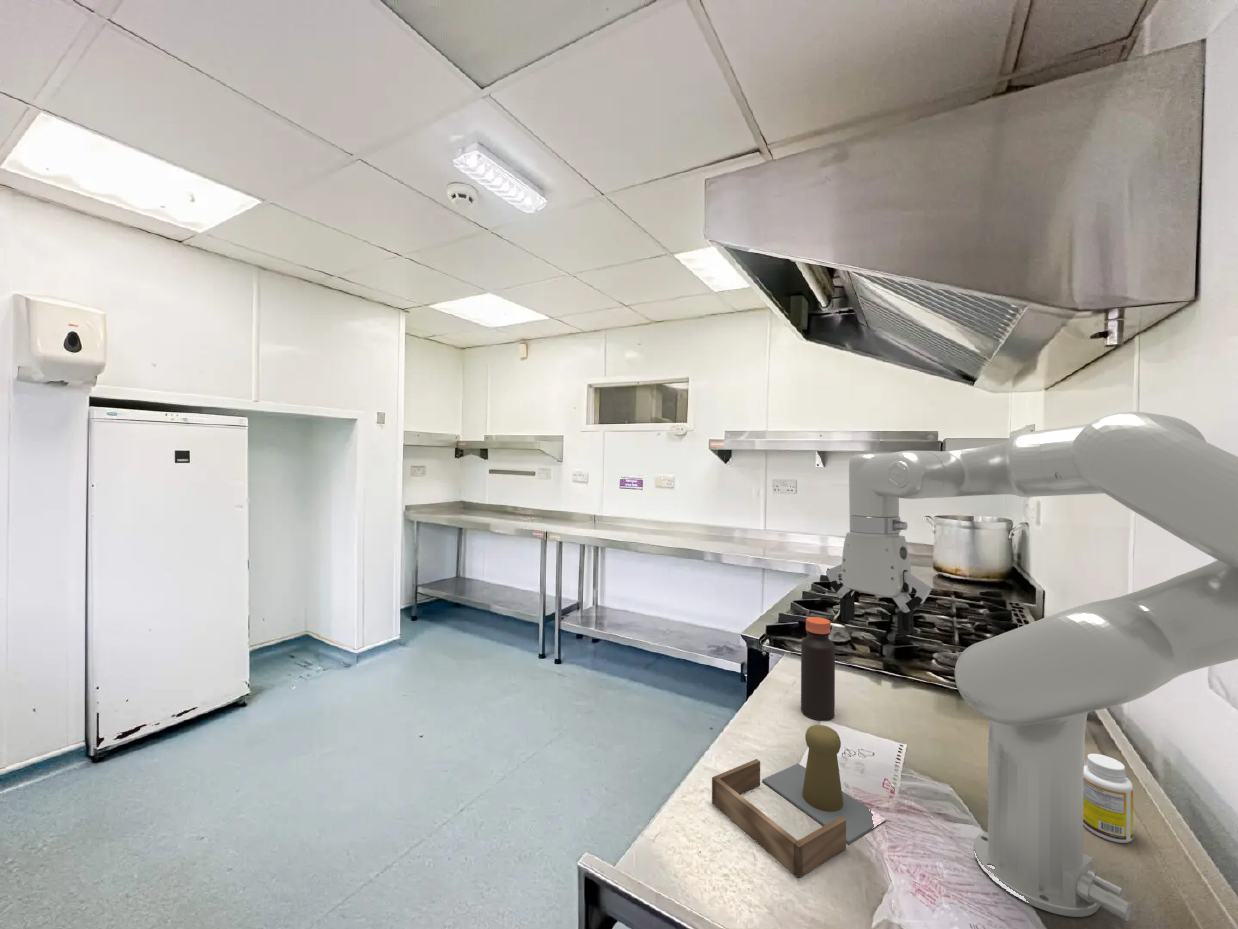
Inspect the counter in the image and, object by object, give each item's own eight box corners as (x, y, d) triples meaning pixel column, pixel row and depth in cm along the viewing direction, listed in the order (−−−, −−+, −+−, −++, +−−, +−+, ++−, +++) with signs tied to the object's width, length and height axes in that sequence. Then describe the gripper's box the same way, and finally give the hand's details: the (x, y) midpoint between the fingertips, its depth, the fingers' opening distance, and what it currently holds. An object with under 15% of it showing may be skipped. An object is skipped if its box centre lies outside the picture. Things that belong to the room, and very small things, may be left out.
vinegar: (836, 710, 108) (837, 618, 108) (832, 724, 102) (832, 627, 102) (803, 703, 112) (804, 613, 112) (797, 716, 106) (798, 622, 106)
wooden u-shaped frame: (846, 848, 69) (846, 819, 69) (798, 878, 64) (798, 847, 64) (756, 782, 83) (756, 759, 83) (711, 802, 78) (712, 777, 78)
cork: (835, 787, 82) (836, 720, 82) (849, 813, 76) (849, 740, 76) (797, 785, 82) (798, 718, 82) (808, 810, 76) (808, 738, 76)
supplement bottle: (1102, 816, 76) (1102, 749, 76) (1144, 844, 70) (1144, 771, 70) (1069, 818, 75) (1069, 751, 75) (1109, 847, 70) (1109, 773, 70)
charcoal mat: (885, 821, 75) (885, 818, 75) (848, 844, 70) (848, 841, 70) (798, 765, 88) (798, 763, 88) (762, 782, 84) (762, 779, 84)
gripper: (939, 529, 80) (941, 637, 79) (839, 521, 94) (840, 612, 94) (917, 532, 75) (918, 646, 75) (815, 523, 90) (816, 619, 89)
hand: (874, 627), depth 84 cm, fingers open, 9 cm apart
